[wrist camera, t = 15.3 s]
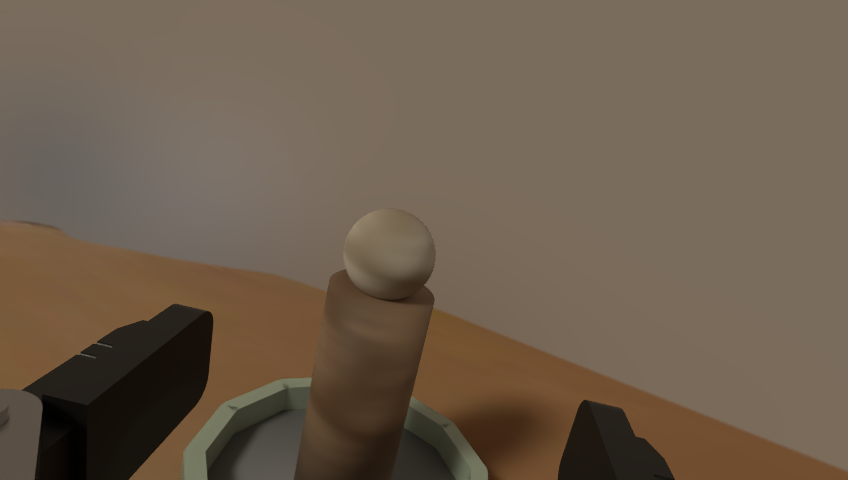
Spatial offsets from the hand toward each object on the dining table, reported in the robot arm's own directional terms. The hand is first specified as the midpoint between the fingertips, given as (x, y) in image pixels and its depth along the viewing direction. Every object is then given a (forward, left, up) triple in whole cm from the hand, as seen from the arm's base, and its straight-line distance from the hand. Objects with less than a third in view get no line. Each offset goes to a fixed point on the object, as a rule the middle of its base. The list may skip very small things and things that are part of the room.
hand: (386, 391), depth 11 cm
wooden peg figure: (+2, -14, -15) cm, 21 cm away
